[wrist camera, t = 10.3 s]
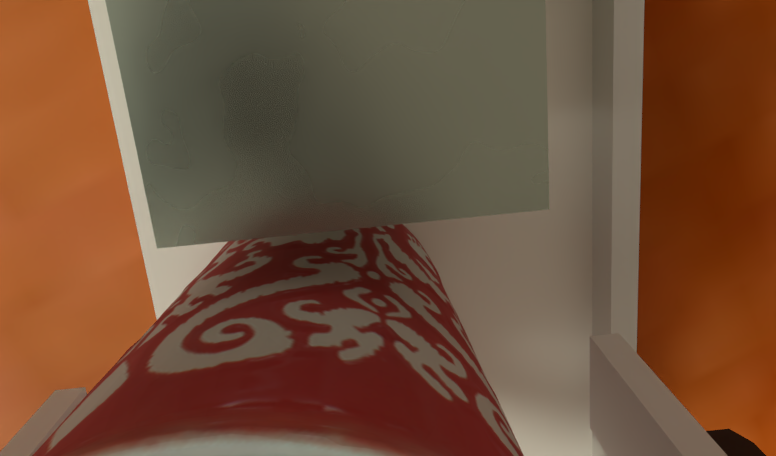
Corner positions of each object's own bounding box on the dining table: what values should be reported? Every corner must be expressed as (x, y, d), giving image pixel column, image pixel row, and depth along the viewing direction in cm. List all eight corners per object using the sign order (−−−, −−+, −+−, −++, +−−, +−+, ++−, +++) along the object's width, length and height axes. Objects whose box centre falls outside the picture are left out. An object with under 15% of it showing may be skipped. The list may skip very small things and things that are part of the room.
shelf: (107, -37, 19) (41, -58, 15) (602, -83, 19) (662, -117, 15) (236, 593, 26) (213, 690, 22) (599, 555, 26) (640, 645, 22)
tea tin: (229, -12, 17) (90, -73, 8) (452, -34, 17) (542, -115, 9) (254, 152, 18) (156, 248, 10) (462, 132, 19) (549, 208, 10)
